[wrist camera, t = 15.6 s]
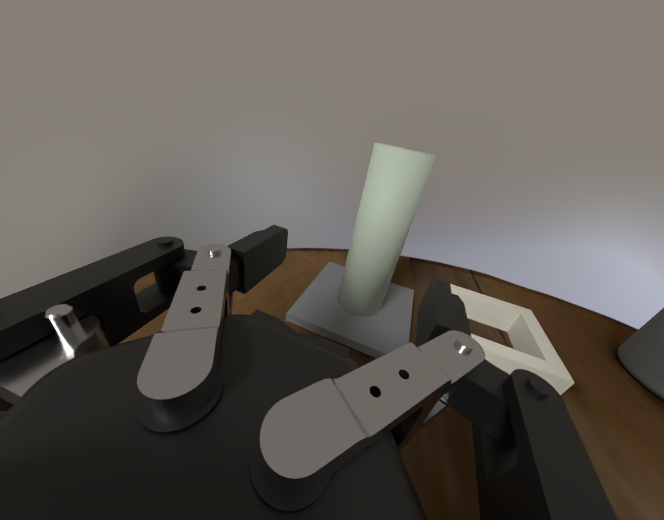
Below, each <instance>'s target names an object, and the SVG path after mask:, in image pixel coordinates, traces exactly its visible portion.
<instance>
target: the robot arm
mask: <svg viewBox="0 0 664 520" xmlns="http://www.w3.org/2000/svg"><path fill="white" fill-rule="evenodd" d="M287 237H288V231H287V229H285V228H282V227H279V226H276V225H273V226H271V227H269V228H267V229H265V230H262V231H257V232H254V233H252V234H250V235H248V236H246V237H244V238H243V239H240V240H238V241H237V242H234V243H232V244H231V245H228V246H224V245H219V244H212V245H206V246H203V247H201V248H200V249H199V250H198V251H193V250H186V249H184V244H183V241H182V240H181V239H179V238H176V237H160V238H155V239H152V240H150V241H147V242H145V243H142V244H140V245H137V246H135V247H132V248H129V249H127V250H124V251H122V252H119V253H117V254H114V255H112V256H109V257H106V258H104V259H101V260H99V261H96V262H94V263H91V264H88V265H86V266H83V267H81V268H78V269H76V270H73V271H71V272H68V273H66V274H63V275H60V276H58V277H55V278H53V279H50V280H47V281H45V282H42V283H40V284H37V285H35V286H32V287H30V288H27V289H25V290H22V291H19V292H17V293H14V294H12V295H9V296H7V297H4V298H1V299H0V412H5V411H7V412H6V413H5V414H4V415H3V416H2V417H1V418H0V520H427V517H426V515H425V513H424V510H423V508H422V505H421V503H420V501H419V498H418V496H417V493H416V491H415V489H414V486H413V484H412V481H411V479H410V477H409V474H408V472H407V469H406V467H405V465H404V462H403V460H402V458H401V455H400V453H399V450H400V449H401V448H403V447H404V446H405V445H406V444H407V443H408V442H409V441H410V440H411V439H412V437H413V436H414V435H415V434H416V433H417V432H418V431H419V430H420V429H422V428H423V427H424V426H425V425H426V424H428V423H429V422H430V421H431V420H432V419H434V418H435V417H436V416H437V415H439V414H440V413H441V412H442V411H443V410H445V409H446V408H447V407H448V406H451V407H452V408H453V409H455V410H456V411H457V412H459V413H460V414H461V415H463V416H464V417H465V418H467V419H468V420H469V421H471V422H472V429H473V441H474V452H475V463H476V475H477V486H478V497H479V509H480V520H617V518H616V516H615V514H614V512H613V509H612V507H611V505H610V503H609V501H608V498H607V496H606V494H605V492H604V490H603V487H602V485H601V483H600V481H599V479H598V476H597V474H596V472H595V470H594V468H593V465H592V463H591V461H590V459H589V456H588V454H587V452H586V450H585V448H584V445H583V443H582V441H581V439H580V437H579V434H578V432H577V430H576V428H575V426H574V423H573V421H572V419H571V417H570V415H569V412H568V410H567V408H566V406H565V404H564V401H563V399H562V397H561V396H560V394H559V393H558V392H557V391H556V389H555V388H554V387H553V386H552V385H550V384H549V383H548V382H547V381H546V380H544V379H543V378H541V377H540V376H538V375H537V374H535V373H533V372H530V371H528V370H524V369H516V370H514V371H513V372H512V373H511V374H508V373H506V372H505V371H503V370H501V369H500V368H498V367H496V366H495V365H493V364H492V363H490V362H489V361H487V360H486V359H485V352H484V350H483V348H482V346H481V345H480V344H479V343H478V342H477V341H476V340H475V339H473V338H472V337H471V333H470V328H469V323H468V319H467V314H466V312H465V311H466V309H465V305H464V302H463V301H462V300H461V298H460V297H459V296H458V295H455V294H452V292H451V285H450V282H448V281H445V280H442V279H439V278H436V277H433V278H432V280H431V282H430V284H429V286H428V289H427V291H426V293H425V295H424V297H423V299H422V301H421V304H420V307H419V310H418V320H417V335H416V345H415V344H414V343H408V344H406V345H404V346H402V347H400V348H398V349H396V350H394V351H392V352H390V353H388V354H386V355H384V356H382V357H380V358H378V359H376V360H374V361H372V362H370V363H368V364H366V365H364V366H362V367H359V366H358V365H357V364H356V363H355V362H354V361H352V360H351V359H350V358H349V357H348V355H349V352H350V349H349V348H347V347H345V346H342V345H340V344H338V343H335V342H333V341H331V340H328V339H326V338H321V337H316V336H311V335H306V334H301V333H298V332H296V331H295V330H293V329H292V328H291V327H289V326H288V325H286V324H285V323H284V322H282V321H281V320H280V319H278V318H276V317H274V316H271V315H269V314H267V313H264V312H262V311H259V310H256V311H255V312H254V313H253V314H252V315H251V316H250V315H232V305H233V292H234V291H235V290H236V291H239V292H241V293H244V294H245V293H247V292H248V291H249V290H250V289H251V288H253V287H254V286H255V285H256V284H258V283H259V282H260V281H261V280H262V279H264V278H265V277H266V276H267V275H268V274H270V273H271V272H272V271H273V270H275V269H276V268H277V267H278V266H279V265H281V264H282V263H283V261H284V259H285V257H286V250H287ZM151 272H154V276H155V280H156V283H155V284H153V285H151V286H149V287H147V288H146V289H144V290H142V291H140V292H139V293H137V294H135V292H134V285H135V283H136V281H137V280H138V279H140V278H141V277H143V276H145V275H147V274H149V273H151ZM168 308H170V309H169V311H168V314H167V316H166V319H165V322H164V324H163V327H162V329H161V331H160V332H157V333H156V334H155V335H151V336H147V337H144V338H140V339H136V340H132V341H129V342H125V343H121V344H118V343H120V342H121V341H123V340H124V339H125V338H127V337H128V336H130V335H131V334H133V333H134V332H136V331H137V330H138V329H140V328H141V327H143V326H144V325H146V324H147V323H148V322H150V321H151V320H153V319H154V318H156V317H157V316H158V315H160V314H161V313H163V312H164V311H166V310H167V309H168Z"/></svg>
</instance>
